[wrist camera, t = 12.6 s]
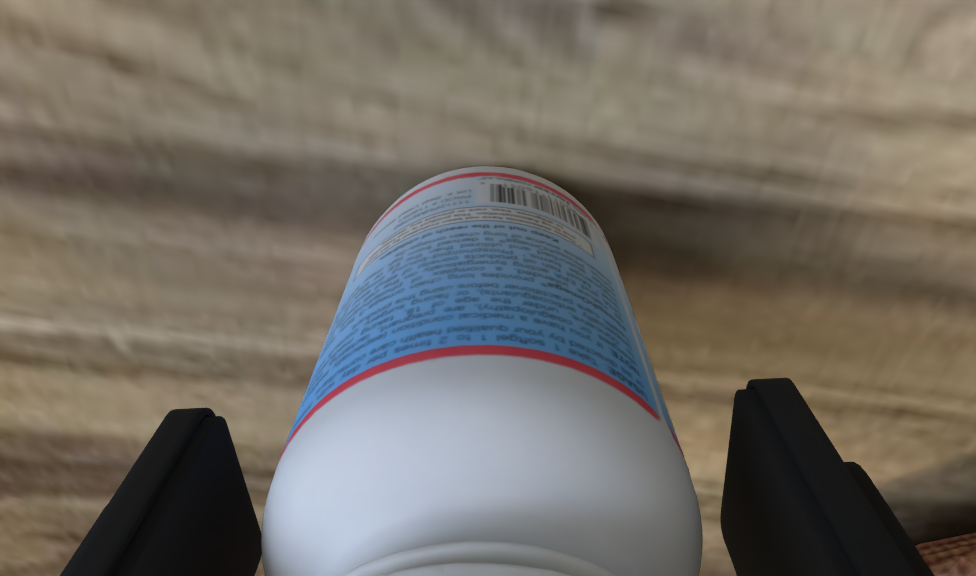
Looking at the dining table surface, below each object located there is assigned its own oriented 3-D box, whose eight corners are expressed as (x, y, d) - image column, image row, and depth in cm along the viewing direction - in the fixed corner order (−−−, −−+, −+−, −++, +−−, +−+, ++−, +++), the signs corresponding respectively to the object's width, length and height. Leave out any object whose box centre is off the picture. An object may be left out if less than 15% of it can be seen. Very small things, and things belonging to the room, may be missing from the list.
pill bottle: (306, 267, 17) (23, 796, 7) (505, 102, 15) (526, 495, 5) (471, 423, 19) (446, 996, 9) (664, 296, 17) (905, 844, 7)
